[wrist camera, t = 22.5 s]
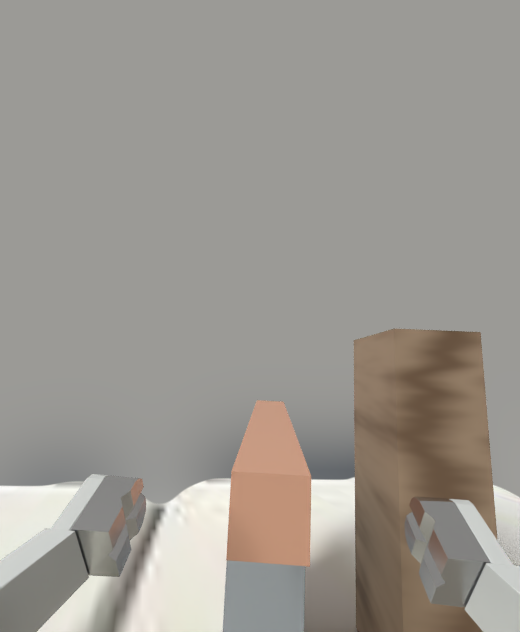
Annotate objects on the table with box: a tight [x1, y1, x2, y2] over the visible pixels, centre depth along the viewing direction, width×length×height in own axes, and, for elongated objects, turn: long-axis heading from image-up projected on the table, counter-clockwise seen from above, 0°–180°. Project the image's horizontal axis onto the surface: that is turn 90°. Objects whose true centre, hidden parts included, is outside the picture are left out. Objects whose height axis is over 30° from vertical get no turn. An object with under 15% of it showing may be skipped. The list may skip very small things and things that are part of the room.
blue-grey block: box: [223, 457, 305, 632], centre depth 23 cm, size 5×10×16 cm, turn 178°
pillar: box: [354, 329, 497, 632], centre depth 23 cm, size 6×10×26 cm, turn 178°
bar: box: [226, 400, 311, 567], centre depth 21 cm, size 3×22×3 cm, turn 178°
